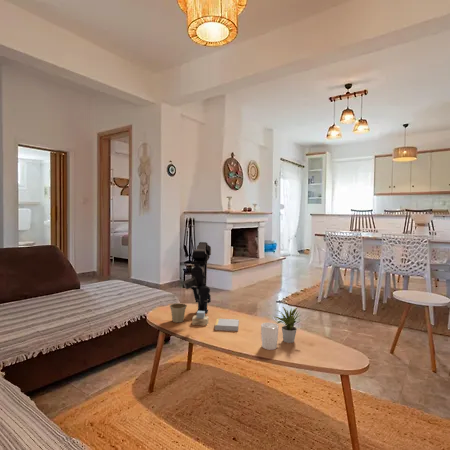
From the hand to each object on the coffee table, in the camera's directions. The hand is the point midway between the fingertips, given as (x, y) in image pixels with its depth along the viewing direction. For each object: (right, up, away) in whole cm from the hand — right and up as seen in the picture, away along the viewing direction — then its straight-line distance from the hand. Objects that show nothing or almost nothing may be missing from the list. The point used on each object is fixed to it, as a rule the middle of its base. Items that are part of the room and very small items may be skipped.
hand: (198, 302), depth 175 cm
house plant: (+45, -14, -18) cm, 51 cm away
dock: (+15, -13, -2) cm, 20 cm away
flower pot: (-12, -12, +6) cm, 18 cm away
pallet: (+1, -12, +3) cm, 13 cm away
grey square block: (+1, -9, +3) cm, 9 cm away
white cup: (+34, -14, -27) cm, 46 cm away
